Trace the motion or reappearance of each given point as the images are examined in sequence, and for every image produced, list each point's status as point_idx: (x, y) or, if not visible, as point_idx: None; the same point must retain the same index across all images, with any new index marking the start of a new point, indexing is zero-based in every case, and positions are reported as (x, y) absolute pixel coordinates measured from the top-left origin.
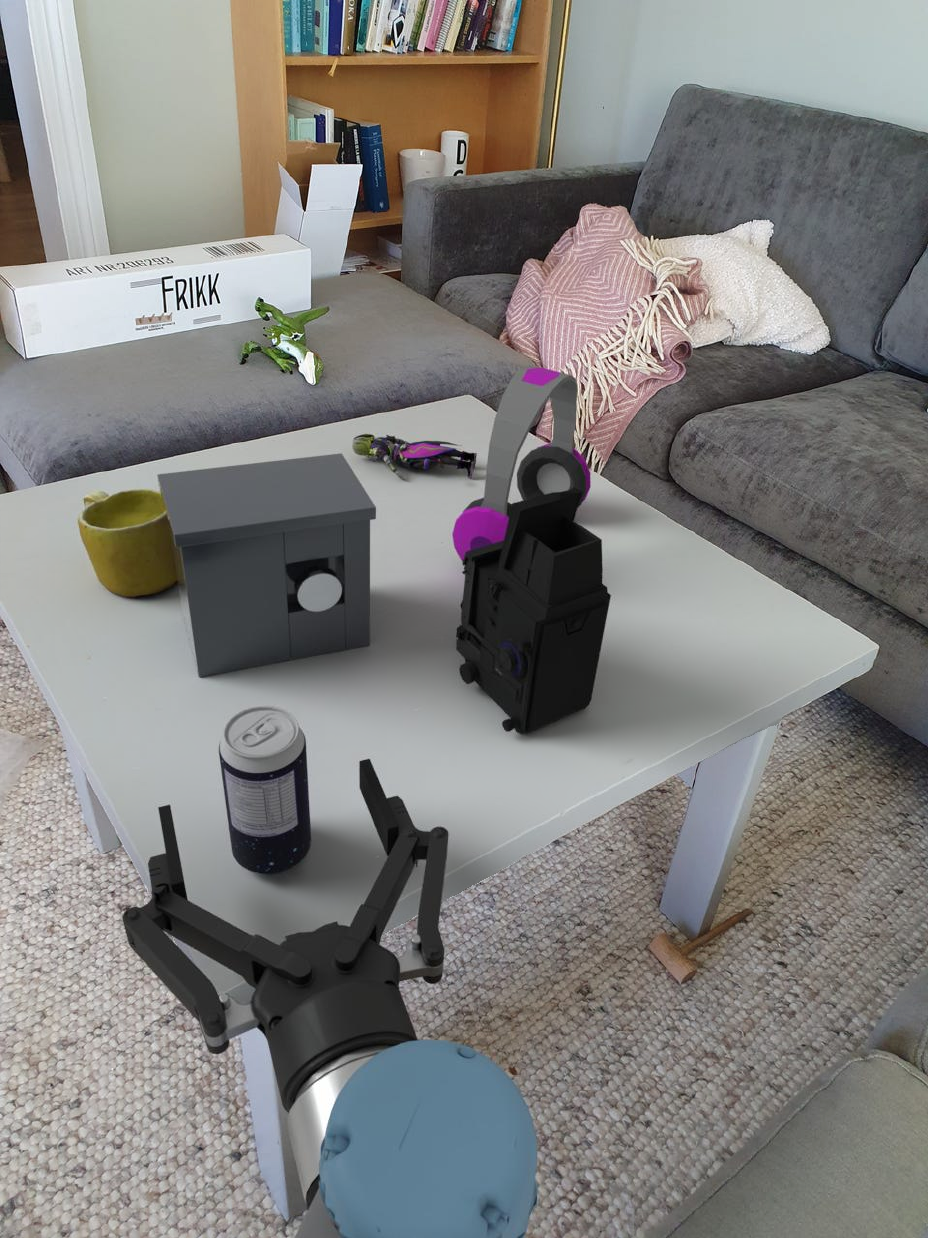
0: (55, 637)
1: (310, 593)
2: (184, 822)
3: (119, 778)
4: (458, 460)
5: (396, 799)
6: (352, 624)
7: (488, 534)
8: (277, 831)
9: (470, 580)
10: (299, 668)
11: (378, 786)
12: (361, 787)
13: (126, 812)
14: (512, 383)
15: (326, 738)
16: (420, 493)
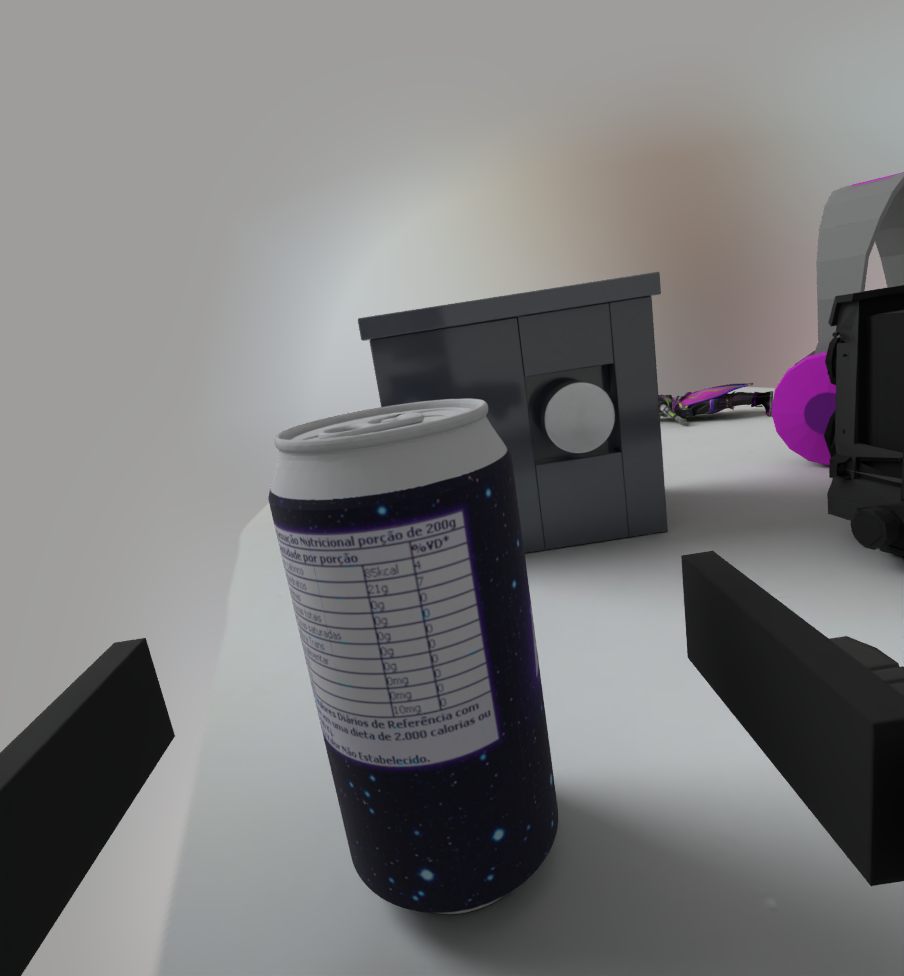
0: (266, 547)
1: (564, 418)
2: (295, 761)
3: (234, 684)
4: (752, 397)
5: (849, 645)
6: (636, 491)
7: (835, 386)
8: (430, 750)
9: (851, 350)
10: (557, 557)
11: (765, 600)
12: (695, 647)
13: (209, 736)
14: (835, 193)
15: (600, 634)
16: (709, 429)
